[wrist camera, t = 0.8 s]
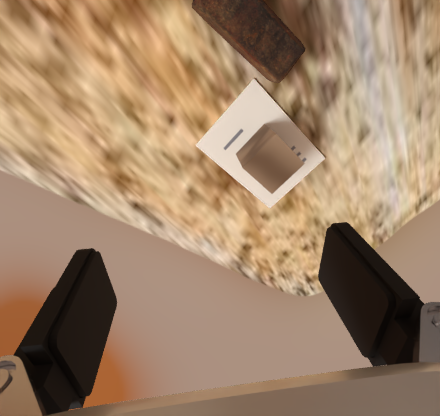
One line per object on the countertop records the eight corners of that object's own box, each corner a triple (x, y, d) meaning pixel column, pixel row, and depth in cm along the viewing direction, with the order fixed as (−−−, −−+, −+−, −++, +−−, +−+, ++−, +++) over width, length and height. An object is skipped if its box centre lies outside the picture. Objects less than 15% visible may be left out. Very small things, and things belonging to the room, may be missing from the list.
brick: (292, 49, 28) (309, 47, 24) (267, 81, 30) (280, 84, 26) (214, -33, 24) (219, -51, 20) (190, 8, 26) (190, -1, 22)
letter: (253, 78, 29) (254, 78, 29) (324, 157, 35) (325, 158, 35) (195, 145, 32) (195, 145, 32) (269, 207, 38) (270, 208, 38)
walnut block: (264, 123, 32) (276, 133, 27) (290, 150, 34) (305, 163, 29) (235, 153, 33) (242, 168, 29) (261, 177, 35) (271, 194, 31)
